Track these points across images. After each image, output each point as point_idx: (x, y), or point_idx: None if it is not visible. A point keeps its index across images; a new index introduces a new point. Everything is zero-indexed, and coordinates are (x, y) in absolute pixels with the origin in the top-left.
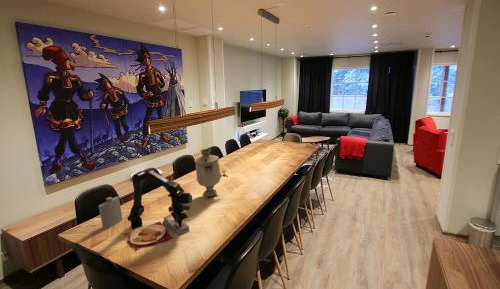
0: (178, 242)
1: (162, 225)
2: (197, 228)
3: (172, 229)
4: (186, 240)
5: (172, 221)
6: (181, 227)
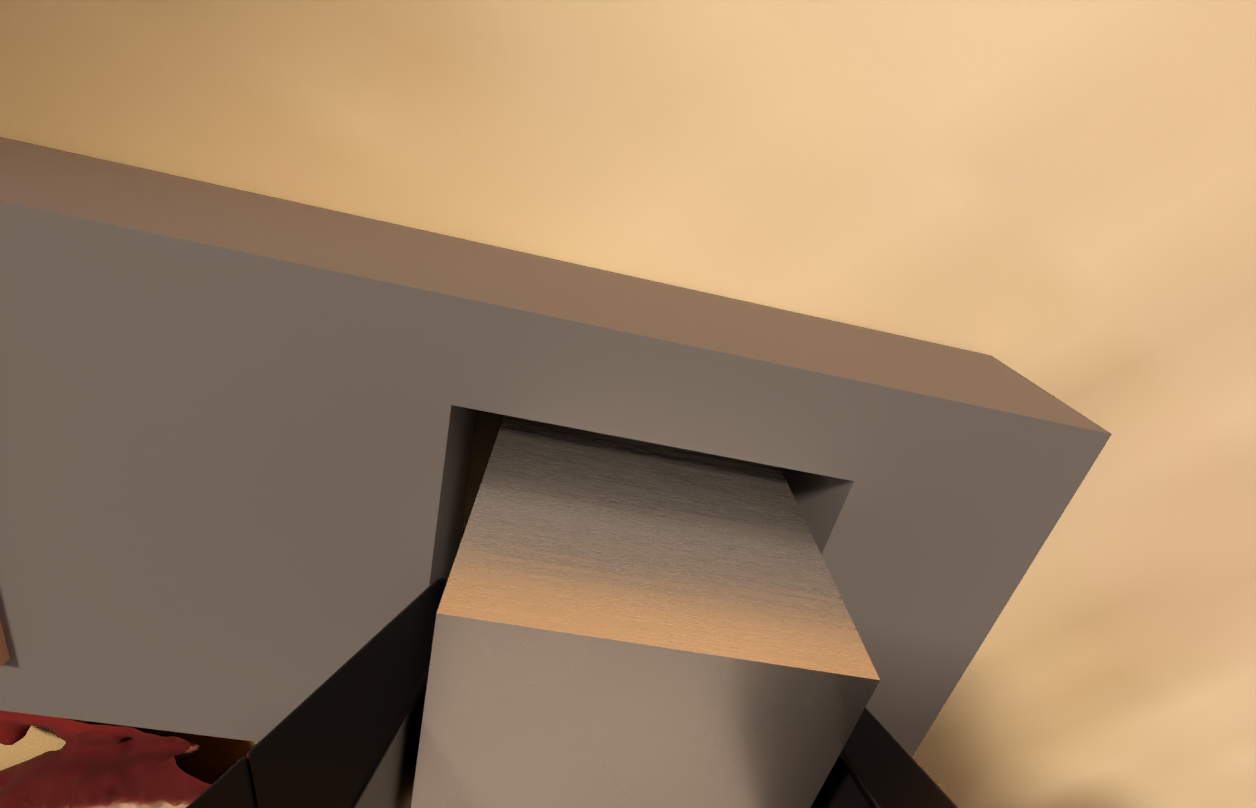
0: (1083, 784)
1: (34, 725)
2: (1218, 42)
3: None
4: (1231, 665)
5: (91, 609)
6: None
